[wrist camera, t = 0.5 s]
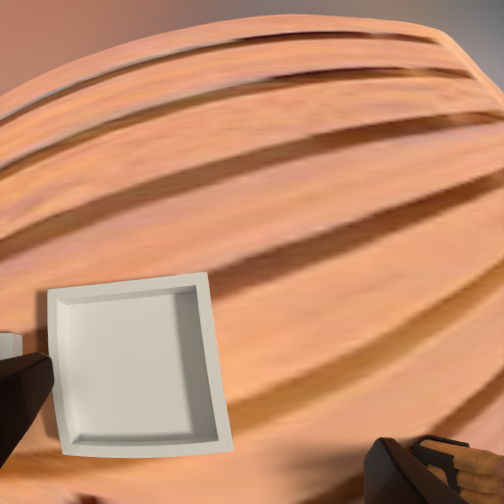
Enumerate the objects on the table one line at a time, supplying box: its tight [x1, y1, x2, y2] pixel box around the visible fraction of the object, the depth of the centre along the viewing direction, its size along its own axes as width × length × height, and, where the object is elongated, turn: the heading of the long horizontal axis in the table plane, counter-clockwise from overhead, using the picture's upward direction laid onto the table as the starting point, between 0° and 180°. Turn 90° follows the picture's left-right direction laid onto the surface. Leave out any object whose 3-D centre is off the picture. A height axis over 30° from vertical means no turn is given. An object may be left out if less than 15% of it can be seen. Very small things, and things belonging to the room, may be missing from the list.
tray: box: [48, 272, 234, 458], centre depth 19 cm, size 12×12×2 cm
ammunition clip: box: [413, 435, 504, 504], centre depth 13 cm, size 11×2×12 cm, turn 19°
